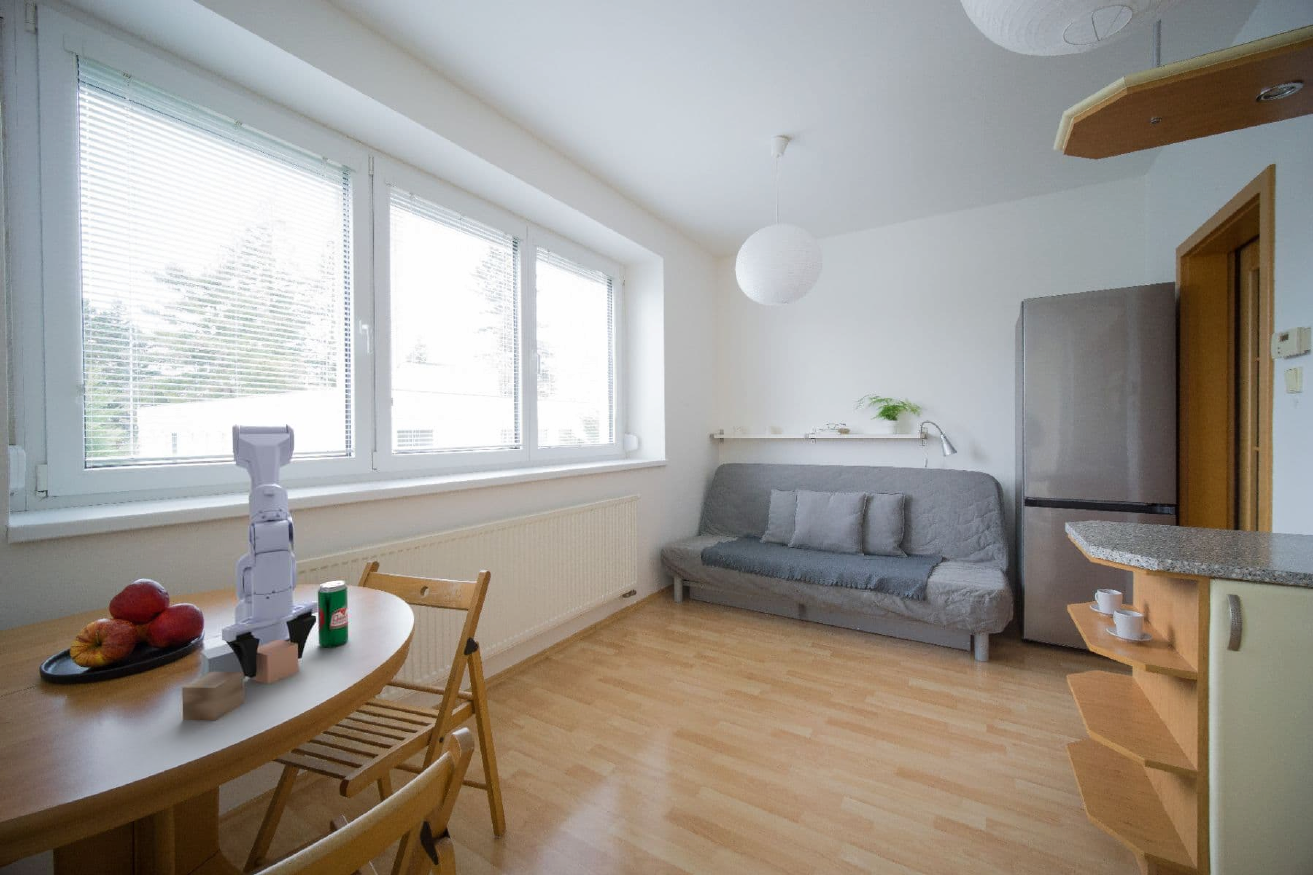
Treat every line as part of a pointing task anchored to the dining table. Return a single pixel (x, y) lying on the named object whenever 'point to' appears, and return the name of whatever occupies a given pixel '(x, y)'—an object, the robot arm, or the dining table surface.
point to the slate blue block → (219, 660)
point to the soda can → (332, 613)
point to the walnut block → (212, 696)
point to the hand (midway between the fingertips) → (274, 666)
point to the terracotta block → (276, 661)
